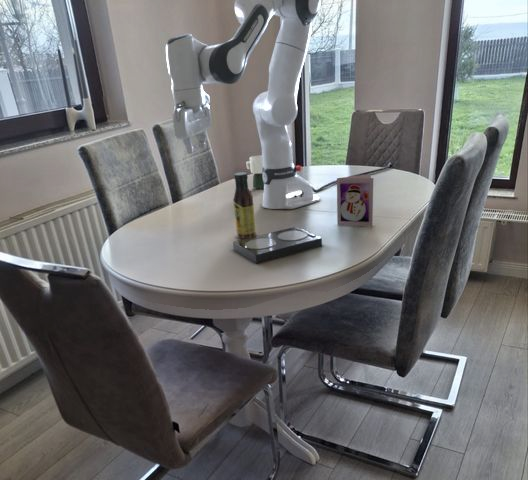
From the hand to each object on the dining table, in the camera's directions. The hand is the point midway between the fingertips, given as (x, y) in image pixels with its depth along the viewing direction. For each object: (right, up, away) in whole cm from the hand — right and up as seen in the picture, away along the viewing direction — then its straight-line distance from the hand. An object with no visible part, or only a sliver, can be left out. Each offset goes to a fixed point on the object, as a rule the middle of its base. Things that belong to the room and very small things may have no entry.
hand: (197, 150), depth 154 cm
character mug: (+19, +11, +70) cm, 73 cm away
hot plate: (+24, -30, -2) cm, 39 cm away
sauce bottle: (+15, -24, +10) cm, 30 cm away
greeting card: (+51, -19, +13) cm, 56 cm away
